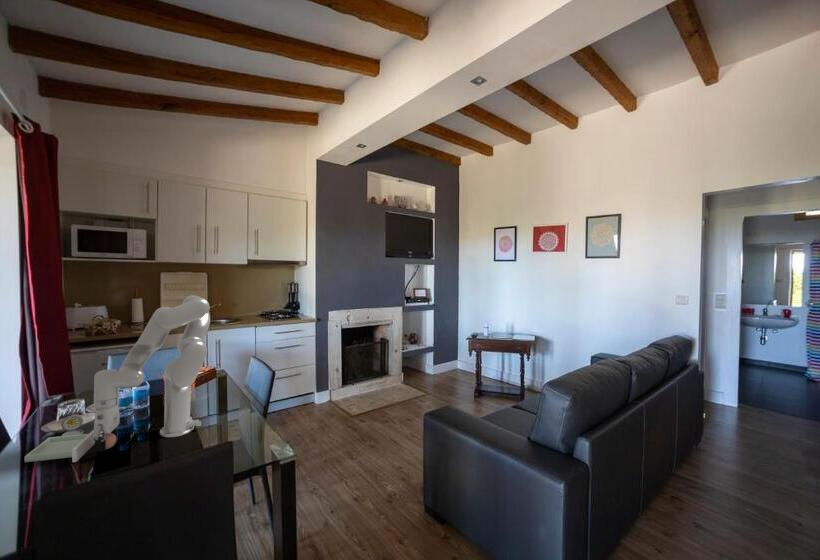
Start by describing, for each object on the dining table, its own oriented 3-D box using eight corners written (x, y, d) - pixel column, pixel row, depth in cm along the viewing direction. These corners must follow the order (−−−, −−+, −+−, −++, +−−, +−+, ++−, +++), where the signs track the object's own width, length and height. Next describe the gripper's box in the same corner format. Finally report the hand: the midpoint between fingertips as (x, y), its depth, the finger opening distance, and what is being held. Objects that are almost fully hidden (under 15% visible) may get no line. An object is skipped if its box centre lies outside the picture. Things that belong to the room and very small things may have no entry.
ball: (119, 443, 143) (119, 429, 143) (112, 451, 137) (112, 436, 137) (100, 445, 141) (100, 431, 141) (93, 453, 135) (93, 438, 135)
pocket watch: (69, 440, 143) (69, 416, 143) (53, 437, 145) (53, 413, 144) (91, 431, 151) (91, 408, 151) (76, 428, 153) (76, 405, 152)
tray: (92, 438, 146) (92, 433, 146) (73, 457, 132) (73, 451, 132) (48, 442, 141) (48, 437, 141) (24, 462, 128) (24, 456, 128)
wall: (102, 435, 148) (102, 424, 148) (76, 461, 130) (76, 448, 129) (99, 436, 148) (99, 424, 148) (72, 462, 129) (72, 449, 129)
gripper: (108, 410, 131) (107, 455, 132) (127, 393, 147) (126, 433, 148) (82, 411, 129) (82, 458, 129) (105, 394, 145) (104, 435, 146)
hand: (105, 444), depth 139 cm, fingers open, 8 cm apart
